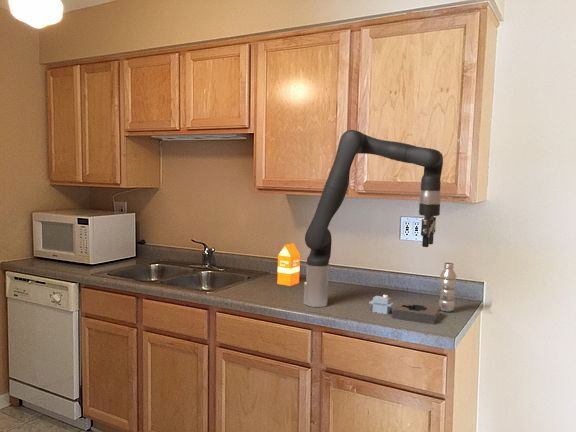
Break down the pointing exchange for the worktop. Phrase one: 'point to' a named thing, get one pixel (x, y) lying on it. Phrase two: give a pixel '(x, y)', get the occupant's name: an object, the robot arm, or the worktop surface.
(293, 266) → the orange juice
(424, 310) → the block with stepped hole
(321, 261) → the robot arm
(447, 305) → the plastic bottle
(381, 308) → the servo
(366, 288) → the worktop surface
